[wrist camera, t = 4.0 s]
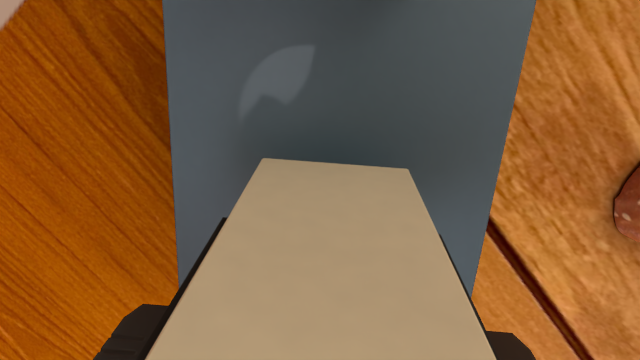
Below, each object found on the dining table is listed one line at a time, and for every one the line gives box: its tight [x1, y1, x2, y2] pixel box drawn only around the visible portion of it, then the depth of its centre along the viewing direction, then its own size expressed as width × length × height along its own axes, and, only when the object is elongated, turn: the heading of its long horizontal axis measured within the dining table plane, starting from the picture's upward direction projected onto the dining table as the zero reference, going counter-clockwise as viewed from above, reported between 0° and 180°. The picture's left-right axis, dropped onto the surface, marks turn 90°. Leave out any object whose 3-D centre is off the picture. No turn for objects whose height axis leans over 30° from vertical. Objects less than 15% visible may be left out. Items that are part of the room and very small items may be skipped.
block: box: [145, 158, 496, 360], centre depth 11 cm, size 5×5×10 cm
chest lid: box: [162, 0, 536, 298], centre depth 14 cm, size 19×13×6 cm
